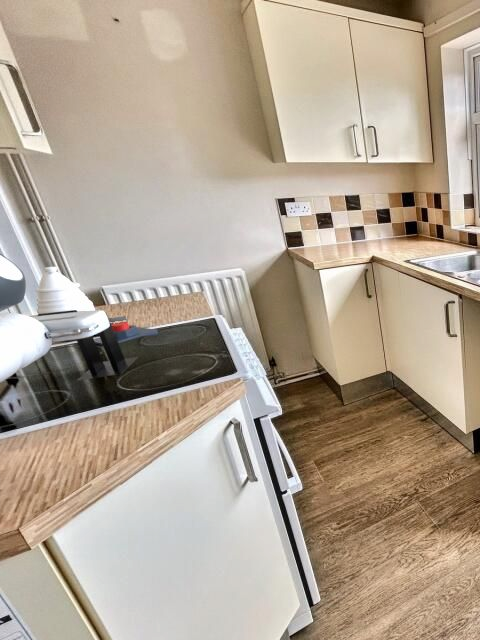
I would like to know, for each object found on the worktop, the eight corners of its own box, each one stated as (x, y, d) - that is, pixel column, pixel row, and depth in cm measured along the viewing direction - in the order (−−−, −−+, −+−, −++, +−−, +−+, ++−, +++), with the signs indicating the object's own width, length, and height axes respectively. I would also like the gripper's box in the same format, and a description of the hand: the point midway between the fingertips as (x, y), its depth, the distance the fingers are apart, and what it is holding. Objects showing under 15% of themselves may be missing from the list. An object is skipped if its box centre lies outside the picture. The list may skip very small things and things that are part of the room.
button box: (110, 350, 112) (105, 338, 111) (90, 346, 115) (85, 334, 114) (159, 335, 122) (155, 323, 121) (139, 332, 125) (135, 321, 124)
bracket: (123, 378, 95) (99, 320, 90) (77, 385, 92) (50, 326, 87) (140, 361, 104) (120, 307, 99) (99, 367, 101) (76, 312, 96)
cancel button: (118, 332, 115) (115, 326, 115) (110, 331, 116) (107, 325, 116) (133, 328, 118) (130, 322, 118) (125, 327, 120) (122, 321, 119)
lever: (75, 318, 84) (73, 306, 84) (38, 322, 82) (36, 310, 82) (110, 328, 96) (109, 318, 96) (79, 332, 94) (77, 321, 94)
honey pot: (104, 319, 139) (82, 264, 132) (50, 331, 129) (23, 272, 122) (91, 313, 145) (69, 261, 139) (38, 324, 135) (12, 269, 129)
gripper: (83, 314, 73) (115, 295, 85) (-85, 332, 66) (-24, 309, 78) (96, 347, 76) (126, 325, 88) (-64, 368, 68) (-8, 341, 80)
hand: (55, 317), depth 83 cm, fingers open, 8 cm apart
